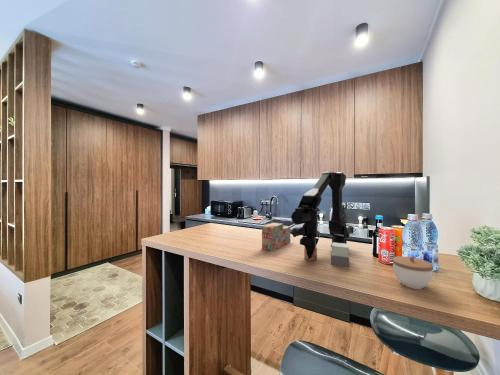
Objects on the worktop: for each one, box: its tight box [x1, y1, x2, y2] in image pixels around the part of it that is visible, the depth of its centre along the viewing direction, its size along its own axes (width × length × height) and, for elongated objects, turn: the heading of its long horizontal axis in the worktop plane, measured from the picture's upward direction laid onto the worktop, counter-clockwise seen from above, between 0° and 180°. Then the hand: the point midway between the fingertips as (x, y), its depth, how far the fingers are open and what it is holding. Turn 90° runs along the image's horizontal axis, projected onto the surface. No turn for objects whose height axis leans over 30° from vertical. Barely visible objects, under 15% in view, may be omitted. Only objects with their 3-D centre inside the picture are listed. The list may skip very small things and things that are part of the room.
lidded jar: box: [392, 255, 434, 290], centre depth 70 cm, size 11×11×9 cm
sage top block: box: [331, 242, 349, 257], centre depth 90 cm, size 6×6×4 cm
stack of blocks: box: [261, 222, 291, 252], centre depth 116 cm, size 21×6×12 cm, turn 144°
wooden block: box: [303, 246, 318, 262], centre depth 95 cm, size 6×6×5 cm
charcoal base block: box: [330, 251, 350, 268], centre depth 90 cm, size 7×7×4 cm
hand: (310, 256), depth 95 cm, fingers closed on wooden block, 5 cm apart
